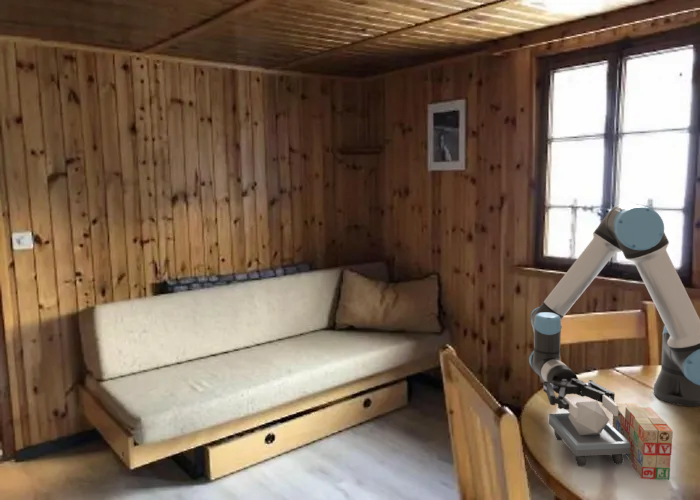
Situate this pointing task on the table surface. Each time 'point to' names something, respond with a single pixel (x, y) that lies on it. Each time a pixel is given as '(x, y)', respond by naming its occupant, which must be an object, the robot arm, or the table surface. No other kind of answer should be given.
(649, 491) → the table surface
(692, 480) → the table surface
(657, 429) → the stack of blocks
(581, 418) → the die
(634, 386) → the table surface
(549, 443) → the table surface
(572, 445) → the trolley
